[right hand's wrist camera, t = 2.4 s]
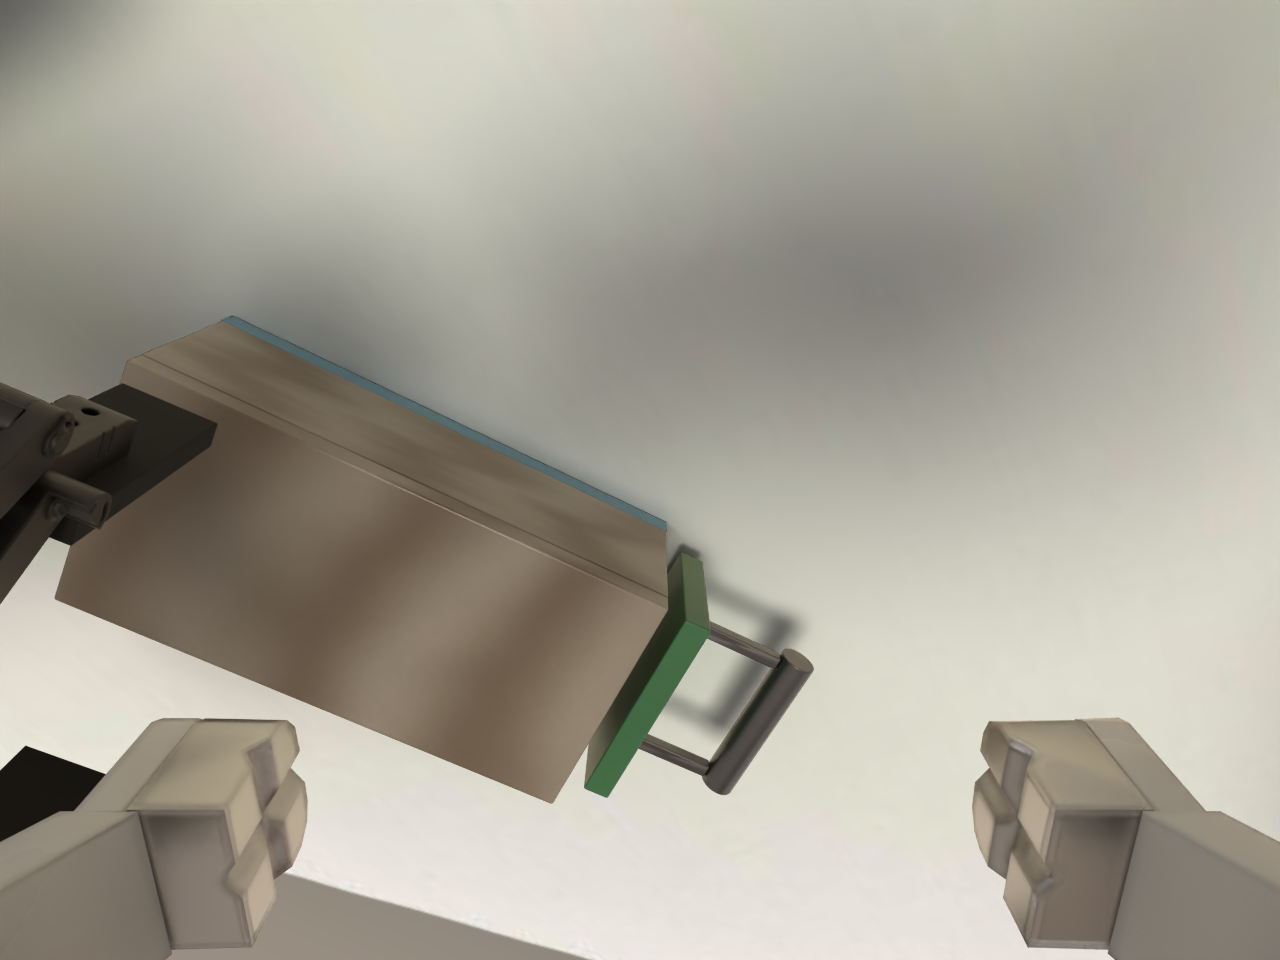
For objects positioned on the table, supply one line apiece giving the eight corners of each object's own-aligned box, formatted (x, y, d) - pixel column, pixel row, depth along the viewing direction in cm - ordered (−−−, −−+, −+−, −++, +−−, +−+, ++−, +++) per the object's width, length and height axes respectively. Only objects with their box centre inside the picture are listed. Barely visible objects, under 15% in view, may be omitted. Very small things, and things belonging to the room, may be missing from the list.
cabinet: (666, 522, 42) (669, 609, 34) (569, 690, 46) (552, 805, 38) (232, 315, 39) (125, 359, 31) (164, 514, 43) (52, 599, 35)
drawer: (811, 612, 43) (837, 689, 37) (716, 755, 46) (726, 848, 40) (296, 369, 39) (230, 411, 33) (230, 544, 42) (159, 612, 36)
